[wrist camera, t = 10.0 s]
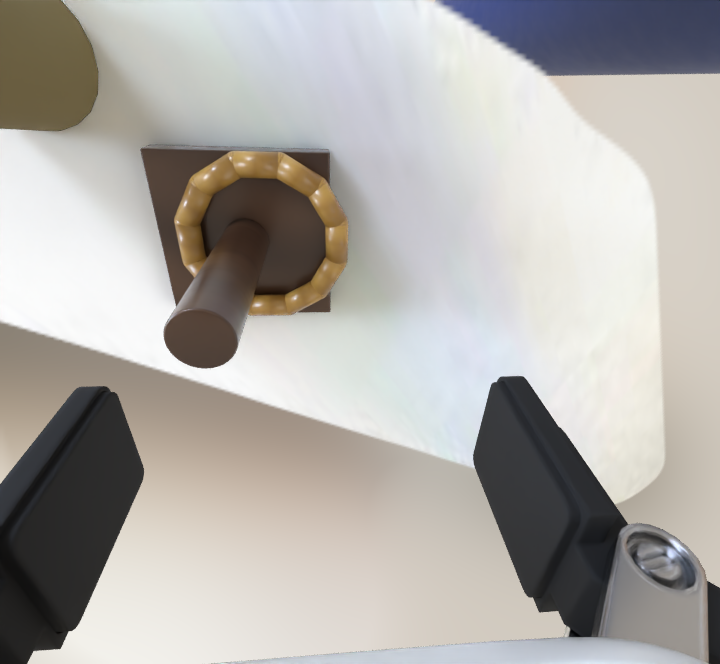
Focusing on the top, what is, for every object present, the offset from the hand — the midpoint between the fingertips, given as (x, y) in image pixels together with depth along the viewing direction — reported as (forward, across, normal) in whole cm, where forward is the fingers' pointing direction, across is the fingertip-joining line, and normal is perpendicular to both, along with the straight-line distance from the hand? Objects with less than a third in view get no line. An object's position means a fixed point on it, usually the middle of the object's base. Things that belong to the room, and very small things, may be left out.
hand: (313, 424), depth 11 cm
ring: (+14, +3, 0) cm, 14 cm away
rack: (+15, +4, 0) cm, 16 cm away
